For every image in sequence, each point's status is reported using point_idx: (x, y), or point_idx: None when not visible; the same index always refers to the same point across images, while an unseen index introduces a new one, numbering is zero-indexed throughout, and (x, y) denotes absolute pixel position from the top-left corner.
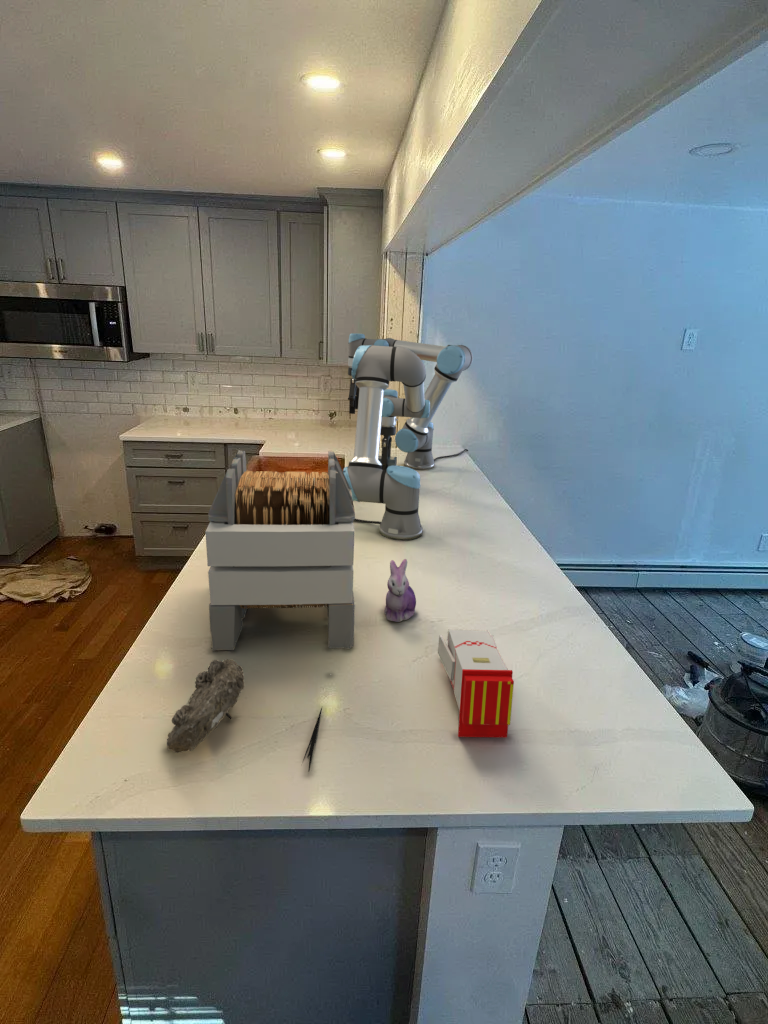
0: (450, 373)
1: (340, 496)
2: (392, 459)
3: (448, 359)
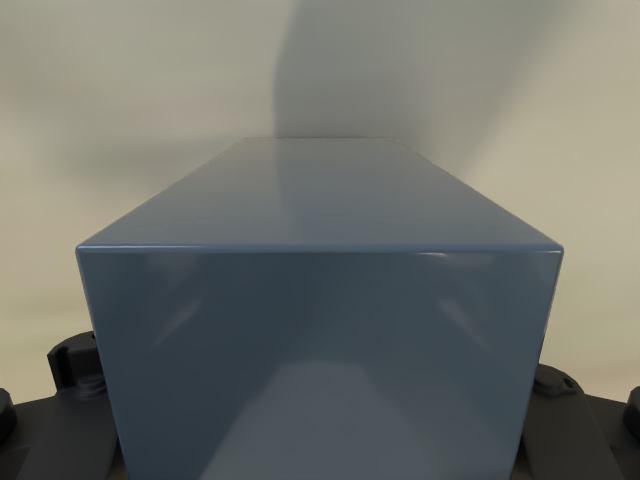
0: None
1: None
2: (526, 345)
3: None
